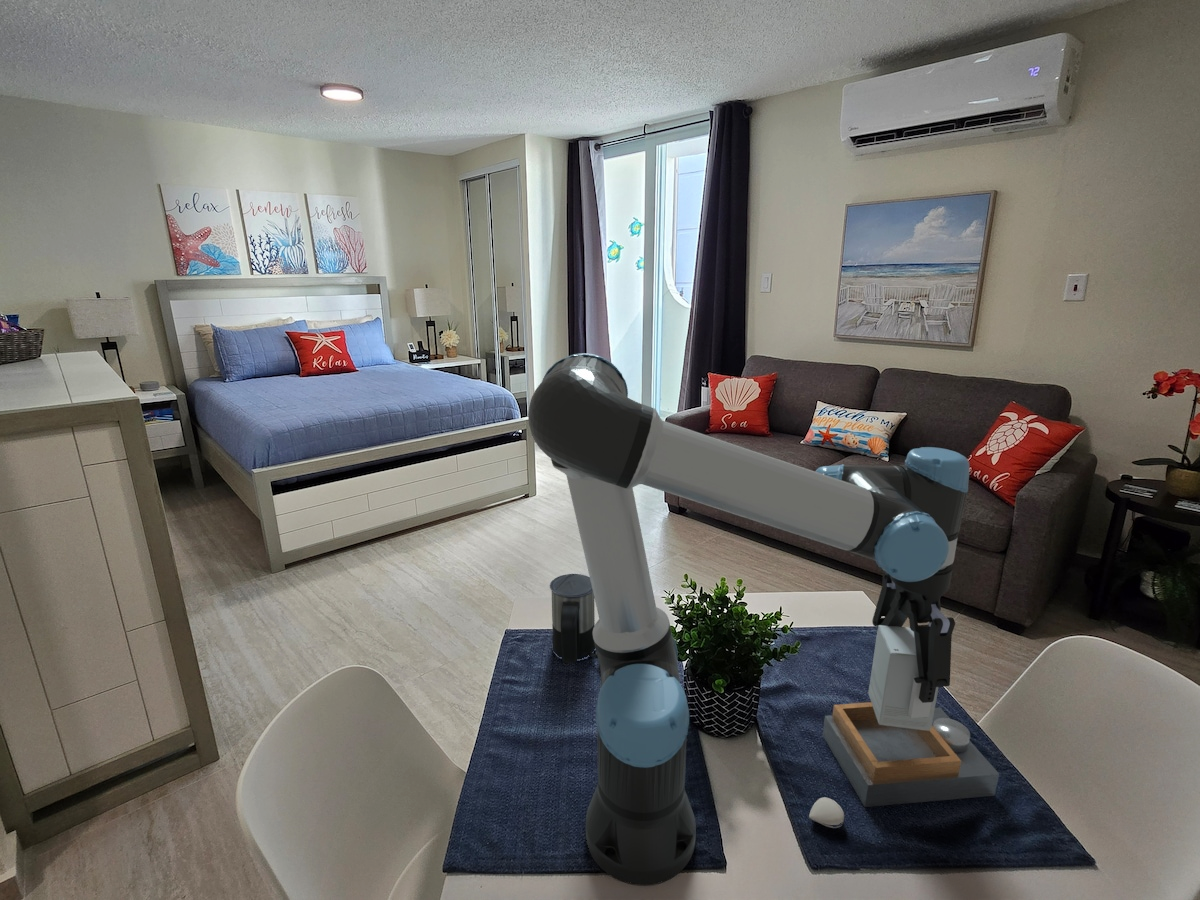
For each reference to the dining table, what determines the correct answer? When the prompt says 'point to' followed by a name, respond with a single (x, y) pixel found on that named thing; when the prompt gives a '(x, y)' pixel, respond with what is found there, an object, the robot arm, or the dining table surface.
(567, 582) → the milk frother
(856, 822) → the dining table surface
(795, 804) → the dining table surface
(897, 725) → the supplement box
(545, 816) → the dining table surface
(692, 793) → the dining table surface
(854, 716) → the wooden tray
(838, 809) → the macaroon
